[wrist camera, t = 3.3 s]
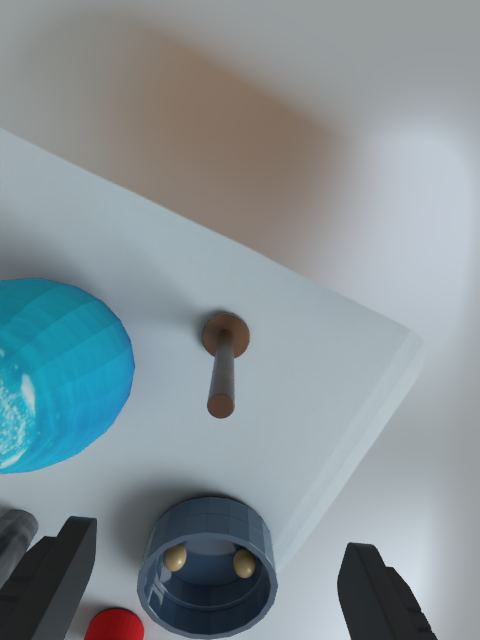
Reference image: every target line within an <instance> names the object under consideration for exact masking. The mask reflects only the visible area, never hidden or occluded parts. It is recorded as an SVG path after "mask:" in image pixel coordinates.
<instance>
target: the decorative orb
mask: <svg viewBox="0 0 480 640" xmlns="http://www.w3.org/2000/svg"><path fill="white" fill-rule="evenodd" d="M134 369H135V363H134V357H133V351H132V345H131V340H130V338H129V336H128V334H127V332H126V330H125V329H124V327H123V325H122V323H121V321H120V319H119V318H118V317H117V316H116V315H115V314H114V313H113V312H112V311H111V310H110V309H109V308H108V307H107V306H106V305H105V304H104V303H103V302H102V301H100V300H99V299H97V298H95V297H93V296H92V295H90V294H88V293H87V292H85V291H83V290H81V289H80V288H78V287H75V286H71V285H67V284H62V283H58V282H54V281H50V280H46V279H41V278H31V279H16V280H2V281H0V474H7V473H20V472H30V471H34V470H39V469H42V468H45V467H47V466H50V465H53V464H55V463H58V462H61V461H63V460H66V459H68V458H70V457H72V456H74V455H76V454H78V453H79V452H81V451H82V450H84V449H85V448H86V447H87V446H89V445H90V444H91V443H92V442H94V441H95V440H96V439H97V438H98V437H100V436H101V435H102V434H103V433H105V432H106V431H107V430H108V429H109V428H110V426H111V425H112V424H113V423H114V421H115V419H116V418H117V416H118V414H119V413H120V411H121V409H122V408H123V406H124V404H125V403H126V401H127V399H128V397H129V395H130V390H131V385H132V380H133V374H134Z"/></svg>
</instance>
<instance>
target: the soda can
mask: <svg viewBox="0 0 480 640" xmlns="http://www.w3.org/2000/svg"><path fill="white" fill-rule="evenodd" d="M143 637H144V627H143V624H142V622H141V620H140V619H139V617H138V616H137V615H135V614H134V613H132V612H130V611H128V610H124V609H109V610H105V611H103V612H101V613H99V614H98V615H97V616H96V617H95V618H94V619H93V620H92V621H91V622H90V625H89V628H88V630H87V633H86V635H85V638H84V640H143Z"/></svg>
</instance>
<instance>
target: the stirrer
mask: <svg viewBox="0 0 480 640" xmlns="http://www.w3.org/2000/svg"><path fill="white" fill-rule="evenodd" d="M202 339H203V344H204V346H205V348H206V350H207V351H208V352H209V353H210V354H211V355H212V356H214V357H215V361H214V367H213V373H212V379H211V385H210V391H209V397H208V402H207V409H208V411H209V413H210V414H211V415H212V416H214V417H216V418H226V417H228V416H230V415H231V414H232V413H233V411H234V408H235V395H234V358H237V357H239V356H240V355H241V354H243V353H244V352H245V350H246V349H247V347H248V345H249V341H250V333H249V329H248V326H247V324H246V323H245V321H244V320H243V319H242V318H240V317H239V316H237V315H235V314H231V313H221V314H217V315H215V316H214V317H212V318H211V319H210V320H209V321H208V322H207V323H206V325H205V327H204V330H203V335H202Z"/></svg>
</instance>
